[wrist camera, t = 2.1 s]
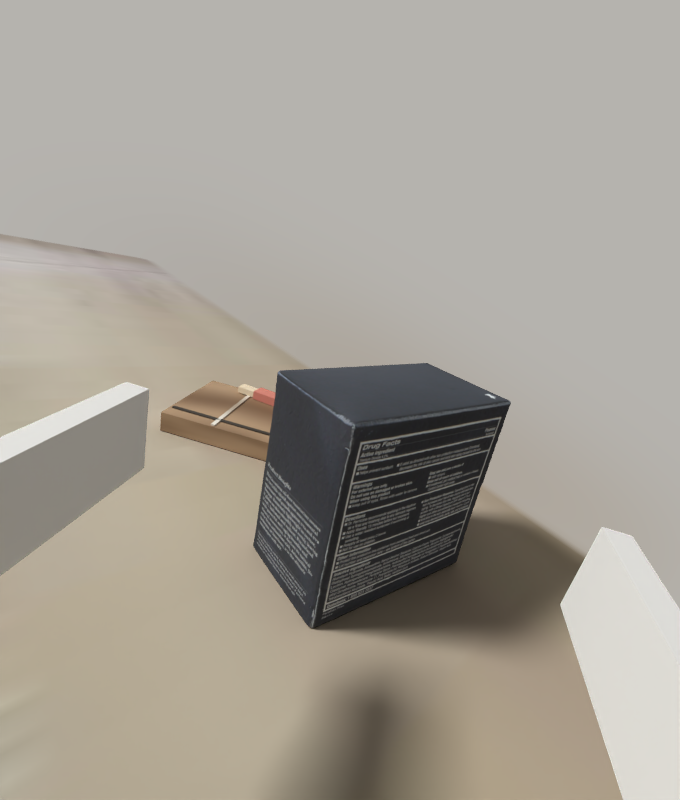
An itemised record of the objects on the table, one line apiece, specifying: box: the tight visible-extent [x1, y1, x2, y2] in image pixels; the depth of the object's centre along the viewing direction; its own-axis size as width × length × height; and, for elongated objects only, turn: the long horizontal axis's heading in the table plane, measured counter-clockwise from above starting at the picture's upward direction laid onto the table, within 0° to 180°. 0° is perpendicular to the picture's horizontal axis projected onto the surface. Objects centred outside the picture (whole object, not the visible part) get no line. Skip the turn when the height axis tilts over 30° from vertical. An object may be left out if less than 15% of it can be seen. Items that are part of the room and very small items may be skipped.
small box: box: [253, 363, 511, 628], centre depth 24 cm, size 11×6×10 cm, turn 126°
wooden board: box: [160, 381, 274, 461], centre depth 36 cm, size 8×18×2 cm, turn 77°
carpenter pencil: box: [238, 384, 275, 406], centre depth 37 cm, size 14×1×1 cm, turn 68°
